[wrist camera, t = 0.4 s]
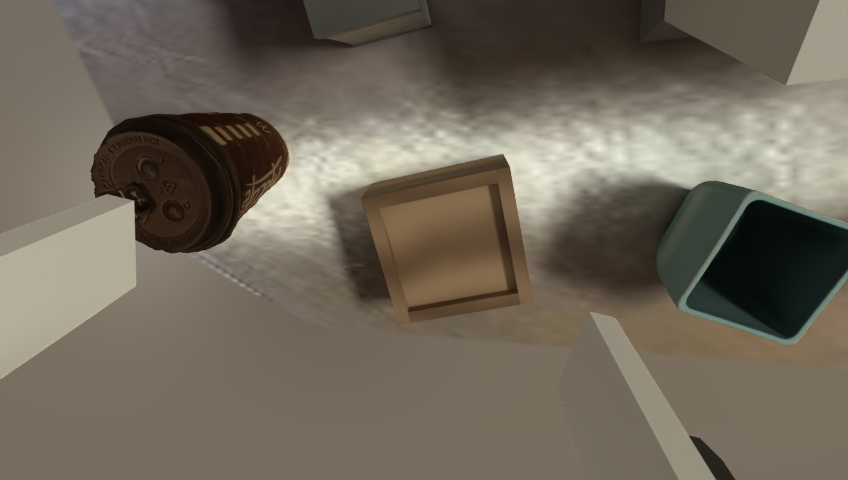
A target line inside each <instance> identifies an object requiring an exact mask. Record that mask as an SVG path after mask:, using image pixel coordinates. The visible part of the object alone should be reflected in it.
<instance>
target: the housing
mask: <svg viewBox="0 0 848 480" xmlns="http://www.w3.org/2000/svg"><path fill="white" fill-rule="evenodd" d="M303 2H304V5H305V9H306V12H307V15H308V19H309V22H310V25H311V29H312V32H313V36H314V38H316V39H320V40H321V39H325V38H327V39H331V40H336V41H340V42H344V43H348V44H351V46H352V47H357V46H361V45H365V44H368V43H372V42H376V41H379V40H383V39H387V38H390V37H394V36H398V35H401V34H405V33H409V32H412V31H416V30H420V29H423V28H427V27H431V26H432V23H431V18H430V13H429V9H428V4H427V0H303Z"/></svg>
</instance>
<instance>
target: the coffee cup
mask: <svg viewBox="0 0 848 480" xmlns="http://www.w3.org/2000/svg"><path fill="white" fill-rule="evenodd" d="M288 164H289V152H288V148H287V145H286V143H285V142H284V140H283V139H282V137H281V136H280V134H279V133H278V131H277V130H276V129H275V128H274V127H273V126H272V125H271V124H270V123H268V122H267V121H265V120H263V119H262V118H260V117H257V116H255V115H252V114H248V113H242V114H234V113H217V112H210V113H189V114H182V115H173V114H167V115H166V114H153V115H148V116H143V117H138V118H130V119H126V120H124V121H123V122H121V123H120V124H118V125H117V126H115V127H113V128H112V129H111V130H110V131H109V132H108V133H107V135H106V137H105V138H104V140H103V141H102V144H101V146H100V148H99V149H98V151H97V153H96V154H95V155H94V163H93V166H92V169H91V173H92V175H91V177H92V179H91V180H92V181H93V182H94V184H95V189H94V190H95V192H94V194H95V198H98V197H101V196H104V195H106V194H108V195H112V196H116V197H121V198H125V199H129V200H133V201H134V213H135V240H137V241H139V242H141V243H143V244H145V245H147V246H148V247H150V248H153V249H154V250H164V251H165V252H169V253H178V252H182V253H190V252H199V251H202V250H207V249H209V248H211V247H214V246H216V245H218V244H220V243H222V242H224V241H225V240H226V239H228V238H229V237H230V236H231V233H232V232H233V230H234V228H235V226H236V224H237V222H238V221H239V219H240V218H241V217H242V216H243V215H244V214H245V213H246V212H247V211H248V210H249V209H250V208H251V207H253V206H254V205H255V204H256V203H257V201H258V199H259V198H260V197H261V196H262V195H263V194H264V193H265V192H266V191H267V190H269V189H270V188H271V187H272V186H273V185H275V184H276V183H277V182H278V181H279V180H280V179H281V178H282V176H283V175H284V173H285V171H286V169H287V166H288Z"/></svg>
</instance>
